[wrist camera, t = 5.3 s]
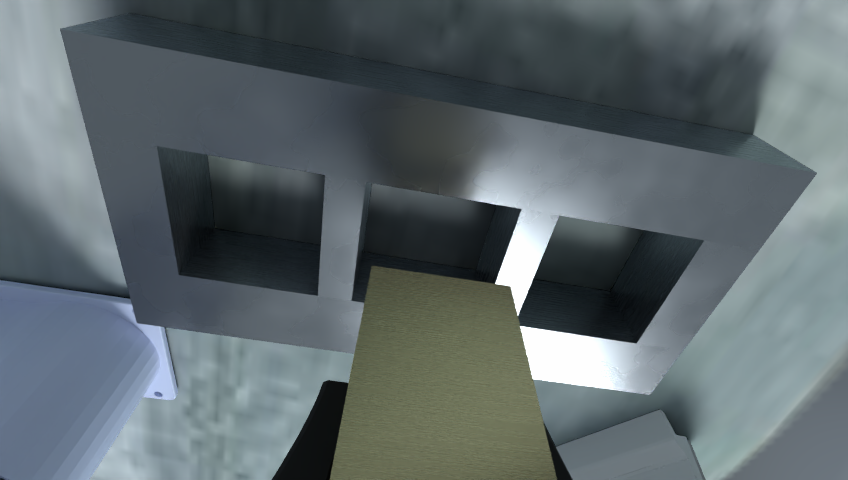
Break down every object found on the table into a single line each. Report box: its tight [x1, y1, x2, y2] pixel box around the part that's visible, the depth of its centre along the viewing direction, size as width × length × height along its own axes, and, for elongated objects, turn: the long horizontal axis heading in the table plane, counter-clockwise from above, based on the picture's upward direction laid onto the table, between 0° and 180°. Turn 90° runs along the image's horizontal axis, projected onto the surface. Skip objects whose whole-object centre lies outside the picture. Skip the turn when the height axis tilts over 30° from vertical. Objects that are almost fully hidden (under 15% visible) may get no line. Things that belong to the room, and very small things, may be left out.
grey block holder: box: [60, 13, 817, 395], centre depth 18 cm, size 24×12×4 cm, turn 80°
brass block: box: [330, 266, 557, 480], centre depth 10 cm, size 4×4×8 cm
